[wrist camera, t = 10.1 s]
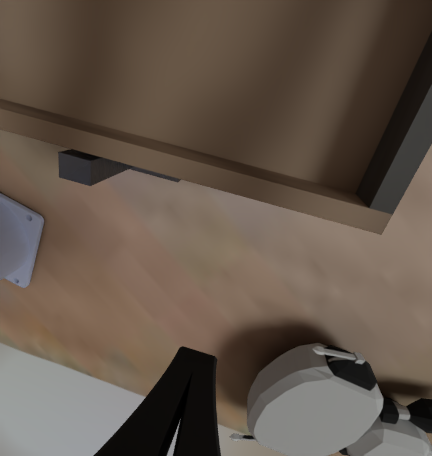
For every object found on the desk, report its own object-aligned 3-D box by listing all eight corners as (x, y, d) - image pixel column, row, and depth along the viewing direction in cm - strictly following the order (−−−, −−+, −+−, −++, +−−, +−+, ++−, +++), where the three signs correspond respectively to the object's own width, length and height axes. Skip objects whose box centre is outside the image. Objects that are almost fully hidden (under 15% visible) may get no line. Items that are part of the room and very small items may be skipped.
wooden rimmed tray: (-133, 74, 15) (-225, 66, 12) (-210, -185, 11) (-373, -284, 8) (358, 207, 12) (381, 234, 10) (485, -55, 9) (581, -128, 6)
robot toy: (464, 378, 22) (298, 303, 21) (512, 443, 18) (309, 354, 16) (363, 447, 27) (227, 391, 26) (382, 509, 23) (222, 446, 22)
